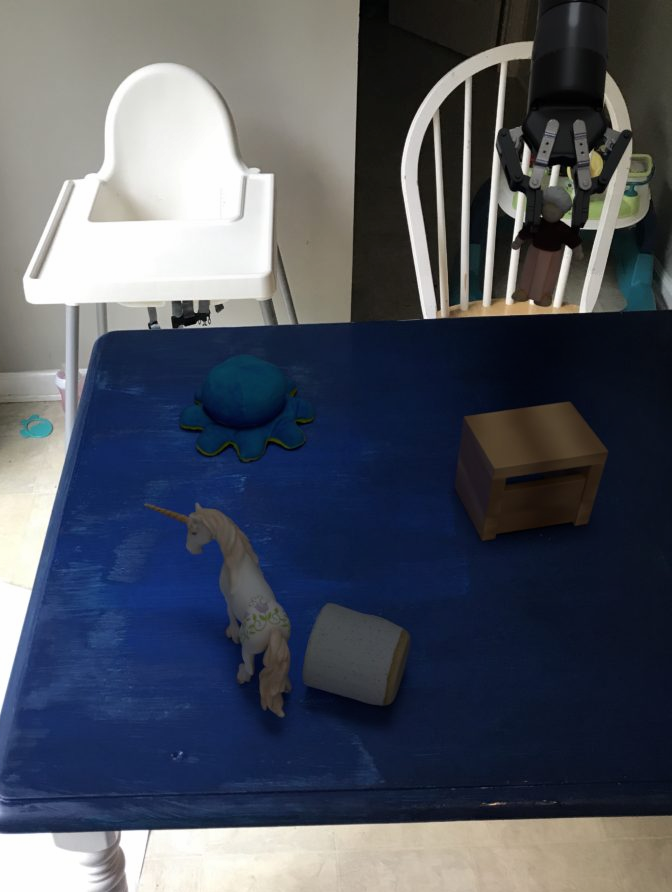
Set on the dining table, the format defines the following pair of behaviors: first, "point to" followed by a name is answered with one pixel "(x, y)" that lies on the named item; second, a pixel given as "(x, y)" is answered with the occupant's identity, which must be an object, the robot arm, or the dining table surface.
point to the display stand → (528, 468)
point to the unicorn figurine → (245, 602)
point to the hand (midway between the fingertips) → (554, 229)
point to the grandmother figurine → (546, 248)
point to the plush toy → (246, 409)
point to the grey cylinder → (356, 655)
